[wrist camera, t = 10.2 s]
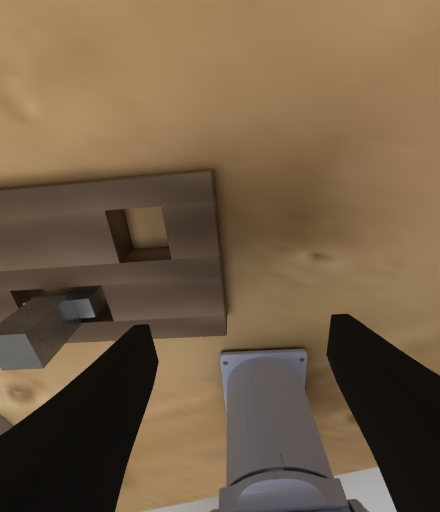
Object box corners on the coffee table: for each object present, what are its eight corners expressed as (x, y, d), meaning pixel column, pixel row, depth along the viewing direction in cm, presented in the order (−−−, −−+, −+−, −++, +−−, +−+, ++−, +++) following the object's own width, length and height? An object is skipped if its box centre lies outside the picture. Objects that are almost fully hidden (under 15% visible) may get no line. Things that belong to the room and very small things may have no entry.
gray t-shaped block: (115, 299, 20) (62, 367, 14) (60, 303, 21) (-16, 371, 14) (106, 273, 19) (45, 332, 13) (48, 277, 20) (-39, 337, 13)
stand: (226, 315, 20) (226, 335, 18) (31, 325, 22) (8, 345, 19) (213, 169, 16) (210, 171, 13) (-36, 192, 17) (-78, 197, 15)
